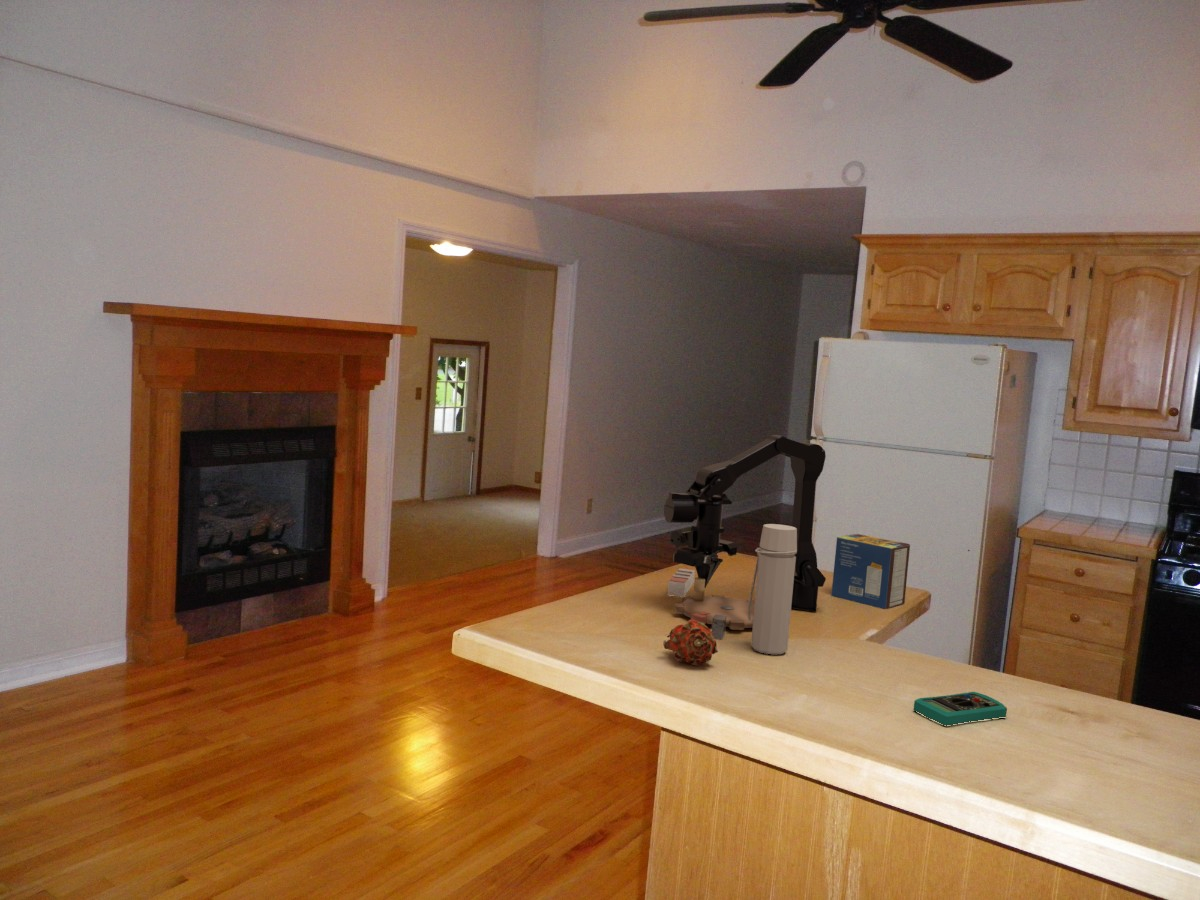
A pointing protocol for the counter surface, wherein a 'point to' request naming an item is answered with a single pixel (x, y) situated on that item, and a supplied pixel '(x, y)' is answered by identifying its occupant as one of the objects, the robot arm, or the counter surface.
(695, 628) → the dragon fruit
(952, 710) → the digital multimeter
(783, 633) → the water bottle
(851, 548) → the protein box
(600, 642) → the counter surface
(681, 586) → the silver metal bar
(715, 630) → the pointer
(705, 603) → the flat round disc
